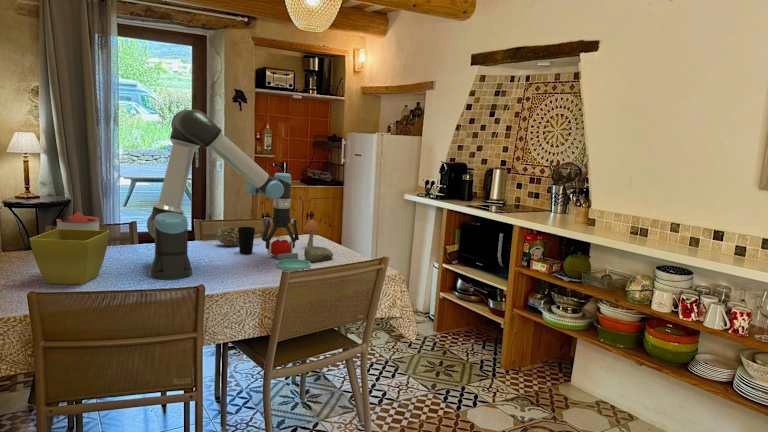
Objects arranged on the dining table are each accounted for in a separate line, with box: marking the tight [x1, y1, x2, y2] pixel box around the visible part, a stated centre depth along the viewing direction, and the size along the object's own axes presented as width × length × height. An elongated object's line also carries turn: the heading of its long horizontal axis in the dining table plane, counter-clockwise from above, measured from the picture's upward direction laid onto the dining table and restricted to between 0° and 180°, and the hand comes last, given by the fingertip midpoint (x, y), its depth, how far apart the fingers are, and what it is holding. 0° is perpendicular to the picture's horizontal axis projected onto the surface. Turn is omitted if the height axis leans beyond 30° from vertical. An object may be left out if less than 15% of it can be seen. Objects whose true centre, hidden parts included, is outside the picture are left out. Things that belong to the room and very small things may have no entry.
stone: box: [303, 245, 334, 263], centre depth 241 cm, size 9×14×10 cm, turn 134°
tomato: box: [271, 238, 291, 258], centre depth 241 cm, size 9×9×8 cm
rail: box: [277, 252, 299, 261], centre depth 235 cm, size 9×1×4 cm, turn 119°
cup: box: [237, 226, 256, 256], centre depth 245 cm, size 8×8×12 cm
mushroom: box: [303, 219, 320, 247], centre depth 262 cm, size 8×8×15 cm
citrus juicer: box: [55, 211, 101, 230], centre depth 218 cm, size 16×17×20 cm
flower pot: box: [29, 228, 110, 285], centre depth 190 cm, size 19×19×17 cm
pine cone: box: [215, 225, 261, 247], centre depth 261 cm, size 22×10×10 cm, turn 120°
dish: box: [275, 258, 312, 271], centre depth 227 cm, size 14×14×2 cm
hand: (280, 255), depth 242 cm, fingers closed on tomato, 9 cm apart
